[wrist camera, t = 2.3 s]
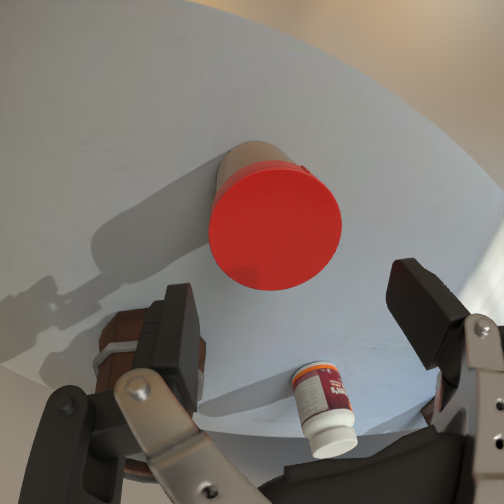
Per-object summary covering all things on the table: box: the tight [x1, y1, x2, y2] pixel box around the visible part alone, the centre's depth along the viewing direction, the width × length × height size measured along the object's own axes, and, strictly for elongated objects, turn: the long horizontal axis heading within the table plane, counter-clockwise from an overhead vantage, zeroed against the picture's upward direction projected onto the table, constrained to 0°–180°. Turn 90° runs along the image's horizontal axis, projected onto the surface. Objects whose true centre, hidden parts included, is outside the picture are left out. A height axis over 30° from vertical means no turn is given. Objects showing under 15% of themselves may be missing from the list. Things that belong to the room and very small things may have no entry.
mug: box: [92, 308, 206, 484], centre depth 23 cm, size 16×12×15 cm
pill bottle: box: [292, 361, 357, 458], centre depth 31 cm, size 6×6×11 cm
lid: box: [209, 160, 342, 291], centre depth 15 cm, size 6×6×2 cm
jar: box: [215, 141, 295, 196], centre depth 19 cm, size 6×6×10 cm
